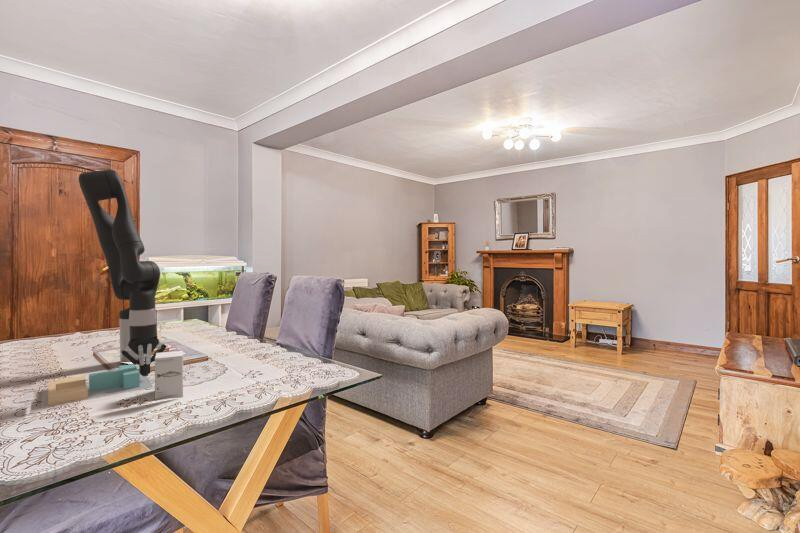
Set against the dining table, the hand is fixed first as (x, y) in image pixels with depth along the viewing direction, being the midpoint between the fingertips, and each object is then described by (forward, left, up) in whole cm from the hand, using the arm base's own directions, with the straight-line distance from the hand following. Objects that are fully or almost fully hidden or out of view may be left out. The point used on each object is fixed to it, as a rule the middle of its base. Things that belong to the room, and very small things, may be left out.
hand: (144, 375), depth 130 cm
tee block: (+8, 0, -2) cm, 8 cm away
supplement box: (-4, +17, -3) cm, 17 cm away
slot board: (+12, 0, -3) cm, 12 cm away
